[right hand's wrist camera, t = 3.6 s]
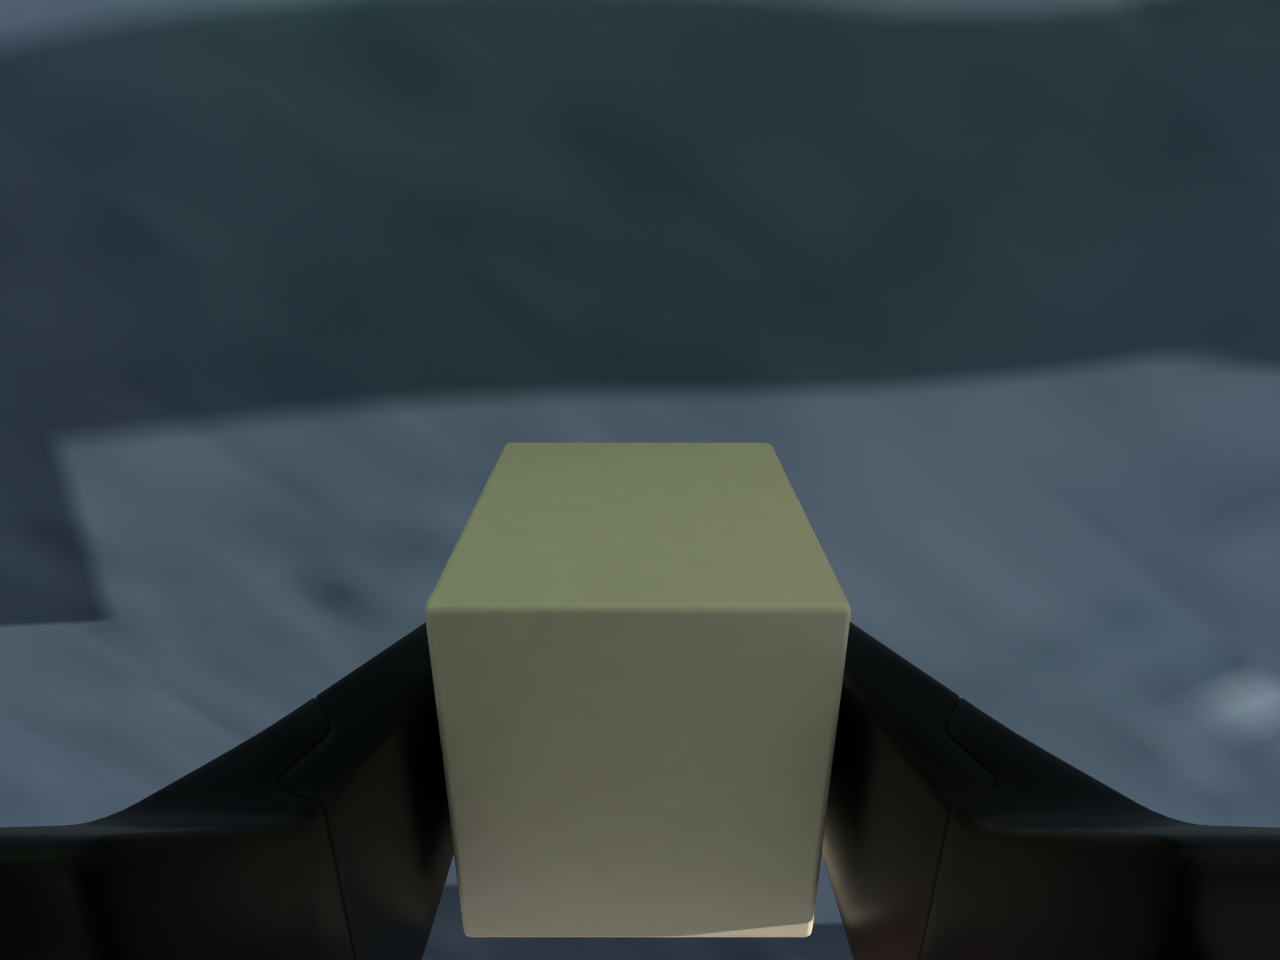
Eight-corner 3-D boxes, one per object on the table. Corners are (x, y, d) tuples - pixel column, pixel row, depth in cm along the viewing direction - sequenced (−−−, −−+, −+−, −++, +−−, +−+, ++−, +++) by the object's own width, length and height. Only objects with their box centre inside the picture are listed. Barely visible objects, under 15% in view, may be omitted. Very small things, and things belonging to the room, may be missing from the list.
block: (771, 440, 12) (856, 606, 7) (755, 684, 14) (813, 941, 9) (504, 440, 12) (420, 606, 7) (521, 683, 14) (462, 941, 9)
